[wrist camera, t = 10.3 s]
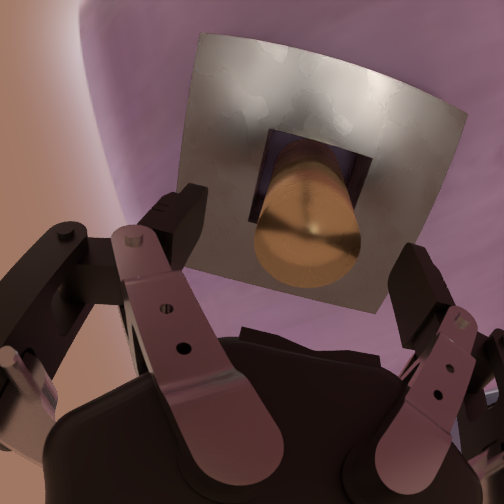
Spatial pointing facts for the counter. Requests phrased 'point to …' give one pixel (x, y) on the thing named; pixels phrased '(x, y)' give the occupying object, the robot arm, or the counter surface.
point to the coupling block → (320, 129)
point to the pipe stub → (307, 219)
